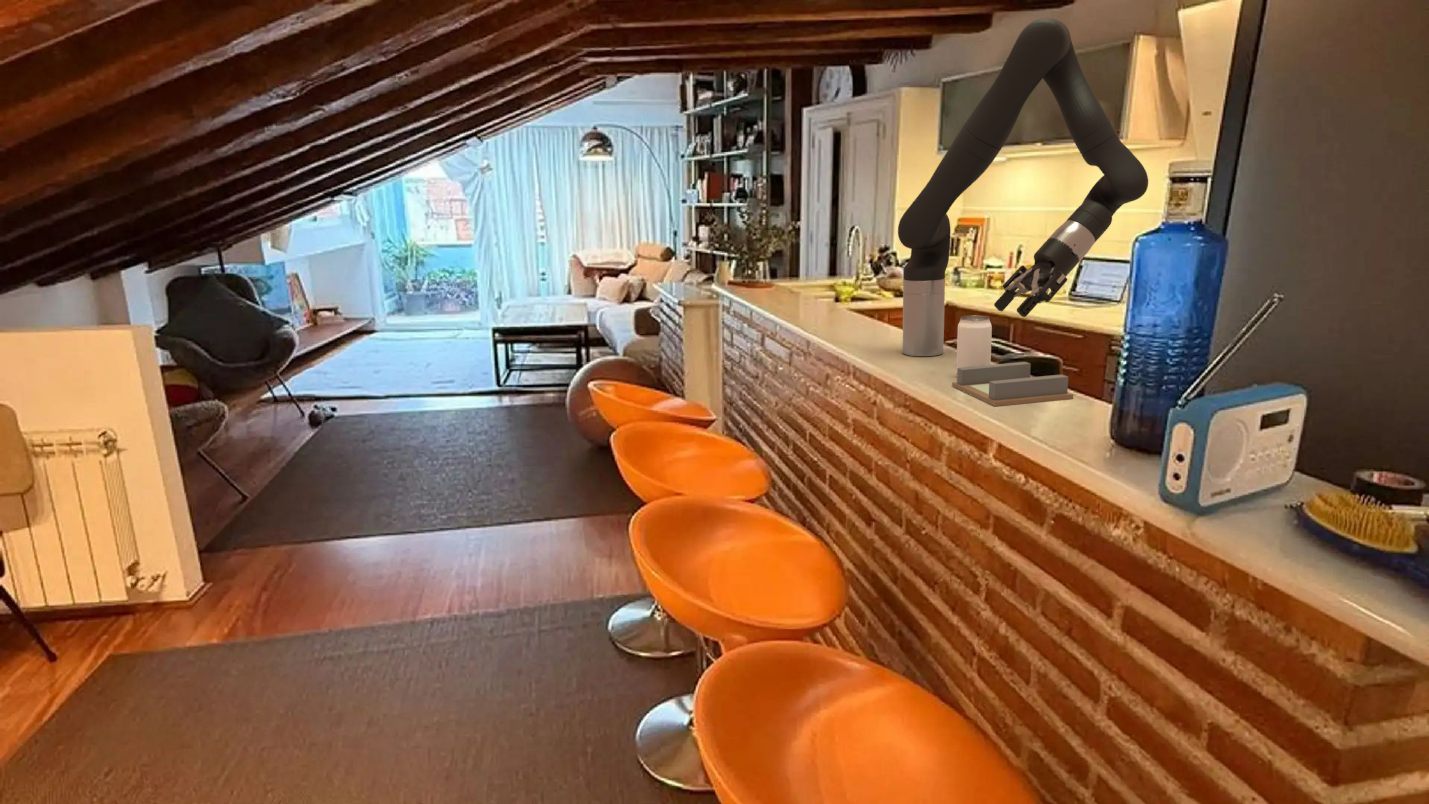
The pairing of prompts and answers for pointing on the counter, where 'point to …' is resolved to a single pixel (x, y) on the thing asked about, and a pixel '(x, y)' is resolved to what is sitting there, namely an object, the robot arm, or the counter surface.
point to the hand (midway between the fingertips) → (1008, 311)
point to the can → (974, 341)
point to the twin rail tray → (1010, 384)
